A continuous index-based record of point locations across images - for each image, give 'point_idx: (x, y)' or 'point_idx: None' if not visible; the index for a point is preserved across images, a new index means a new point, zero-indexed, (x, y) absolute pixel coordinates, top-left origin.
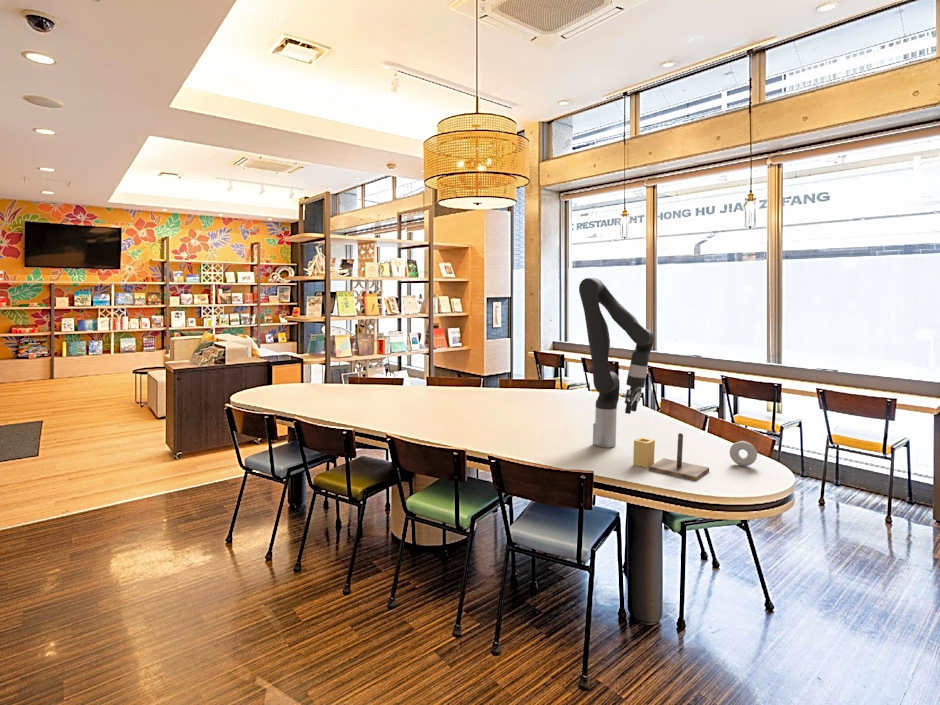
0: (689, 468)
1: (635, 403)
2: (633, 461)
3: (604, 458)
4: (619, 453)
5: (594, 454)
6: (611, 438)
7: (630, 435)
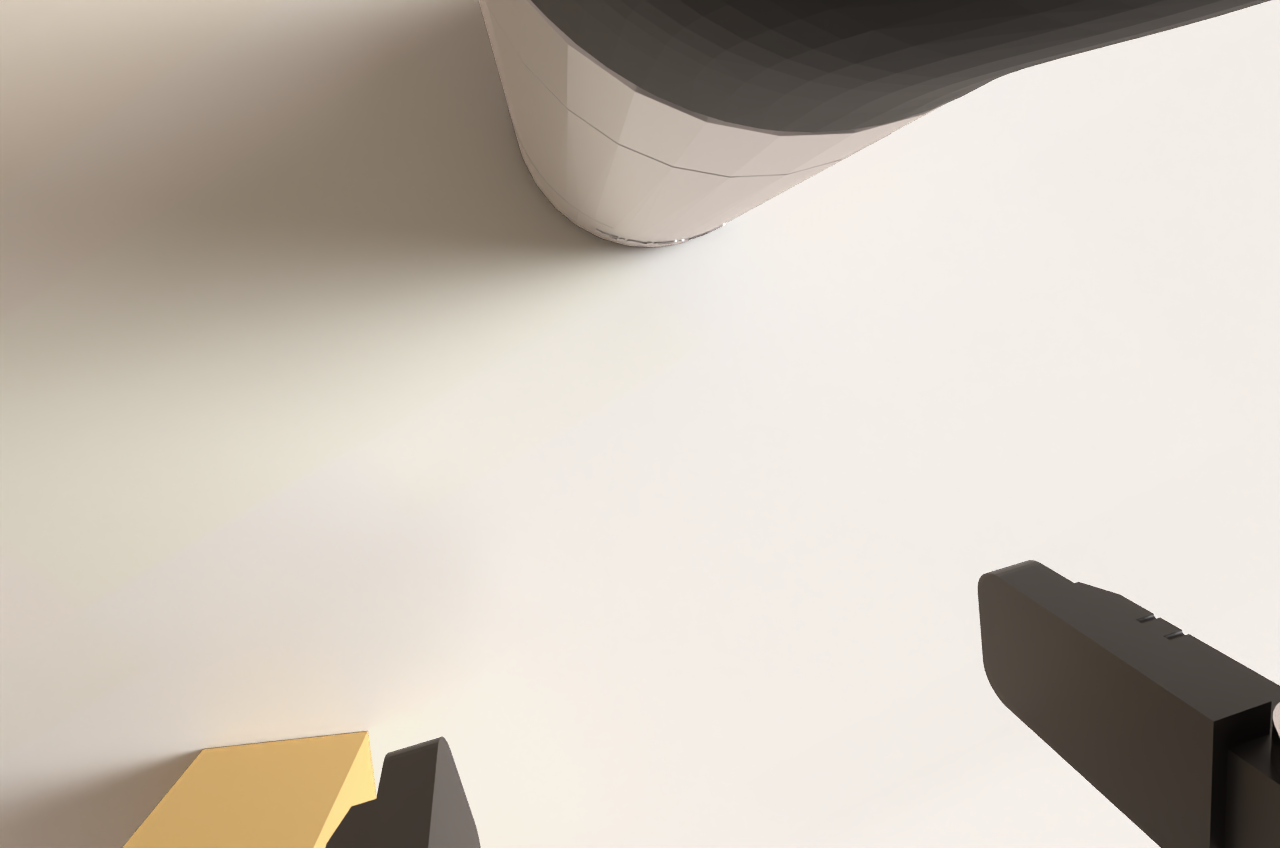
0: None
1: (1200, 828)
2: (185, 774)
3: (149, 414)
4: (463, 431)
5: (189, 237)
6: (603, 221)
7: (1251, 122)
